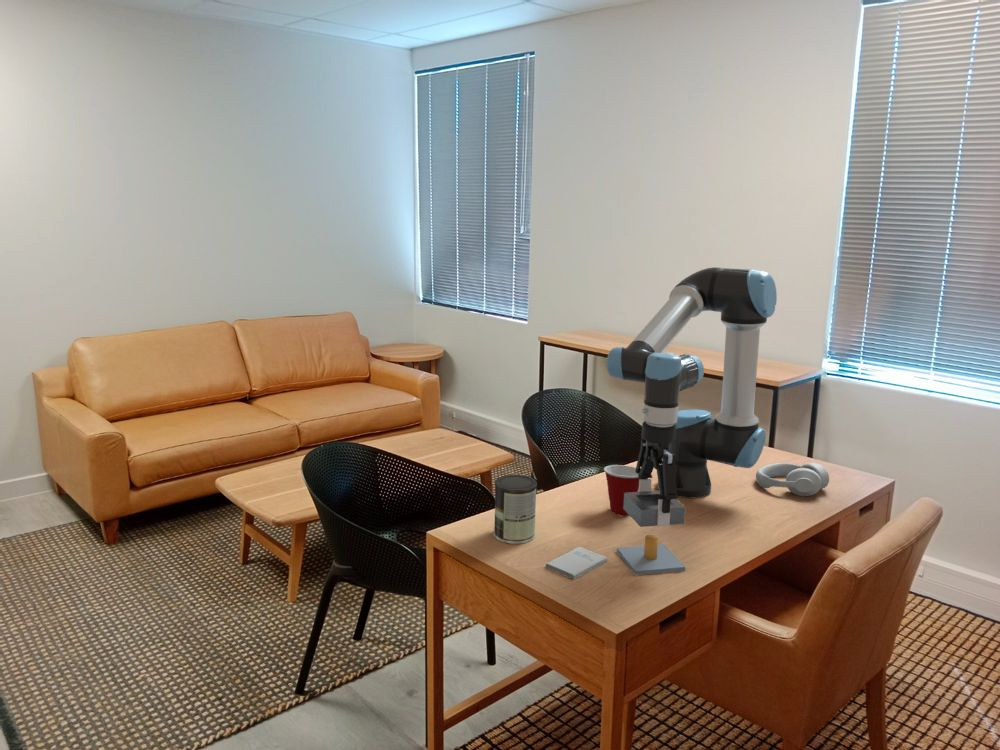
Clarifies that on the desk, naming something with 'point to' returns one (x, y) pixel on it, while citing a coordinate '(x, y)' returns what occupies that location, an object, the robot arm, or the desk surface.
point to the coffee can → (515, 508)
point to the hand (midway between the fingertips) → (653, 515)
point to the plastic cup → (620, 485)
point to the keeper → (650, 558)
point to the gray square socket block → (651, 508)
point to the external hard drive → (576, 562)
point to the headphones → (794, 477)
